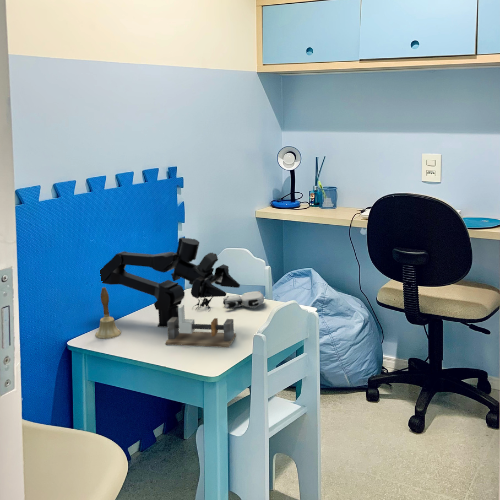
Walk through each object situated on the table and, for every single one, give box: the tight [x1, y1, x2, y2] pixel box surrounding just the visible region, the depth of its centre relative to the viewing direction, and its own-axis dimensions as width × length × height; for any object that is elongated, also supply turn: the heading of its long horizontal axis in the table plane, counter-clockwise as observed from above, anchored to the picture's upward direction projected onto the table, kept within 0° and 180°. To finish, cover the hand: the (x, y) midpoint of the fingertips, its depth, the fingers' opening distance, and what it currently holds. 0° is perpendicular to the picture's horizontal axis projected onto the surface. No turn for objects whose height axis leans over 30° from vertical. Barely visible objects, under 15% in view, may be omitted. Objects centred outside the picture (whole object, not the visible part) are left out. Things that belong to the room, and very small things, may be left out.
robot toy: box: [222, 290, 265, 309], centre depth 237 cm, size 12×4×15 cm
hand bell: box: [94, 286, 122, 340], centre depth 210 cm, size 8×8×16 cm
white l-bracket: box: [178, 304, 196, 334], centre depth 202 cm, size 4×4×8 cm
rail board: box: [165, 317, 237, 348], centre depth 202 cm, size 20×10×7 cm, turn 79°
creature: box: [191, 297, 214, 313], centre depth 235 cm, size 8×5×8 cm
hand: (232, 290), depth 206 cm, fingers open, 9 cm apart
